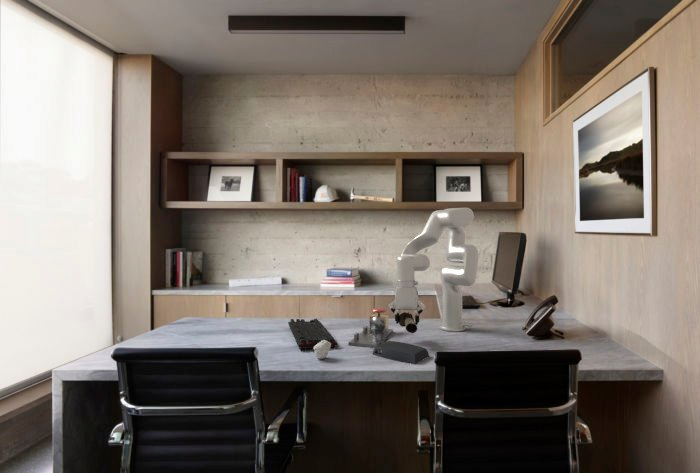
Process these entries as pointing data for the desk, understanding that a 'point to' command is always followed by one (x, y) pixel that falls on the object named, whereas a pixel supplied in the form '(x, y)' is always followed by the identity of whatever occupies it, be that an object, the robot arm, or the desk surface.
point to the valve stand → (373, 331)
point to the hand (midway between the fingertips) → (407, 323)
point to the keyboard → (310, 333)
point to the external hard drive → (401, 352)
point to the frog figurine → (322, 349)
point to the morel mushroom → (407, 322)
